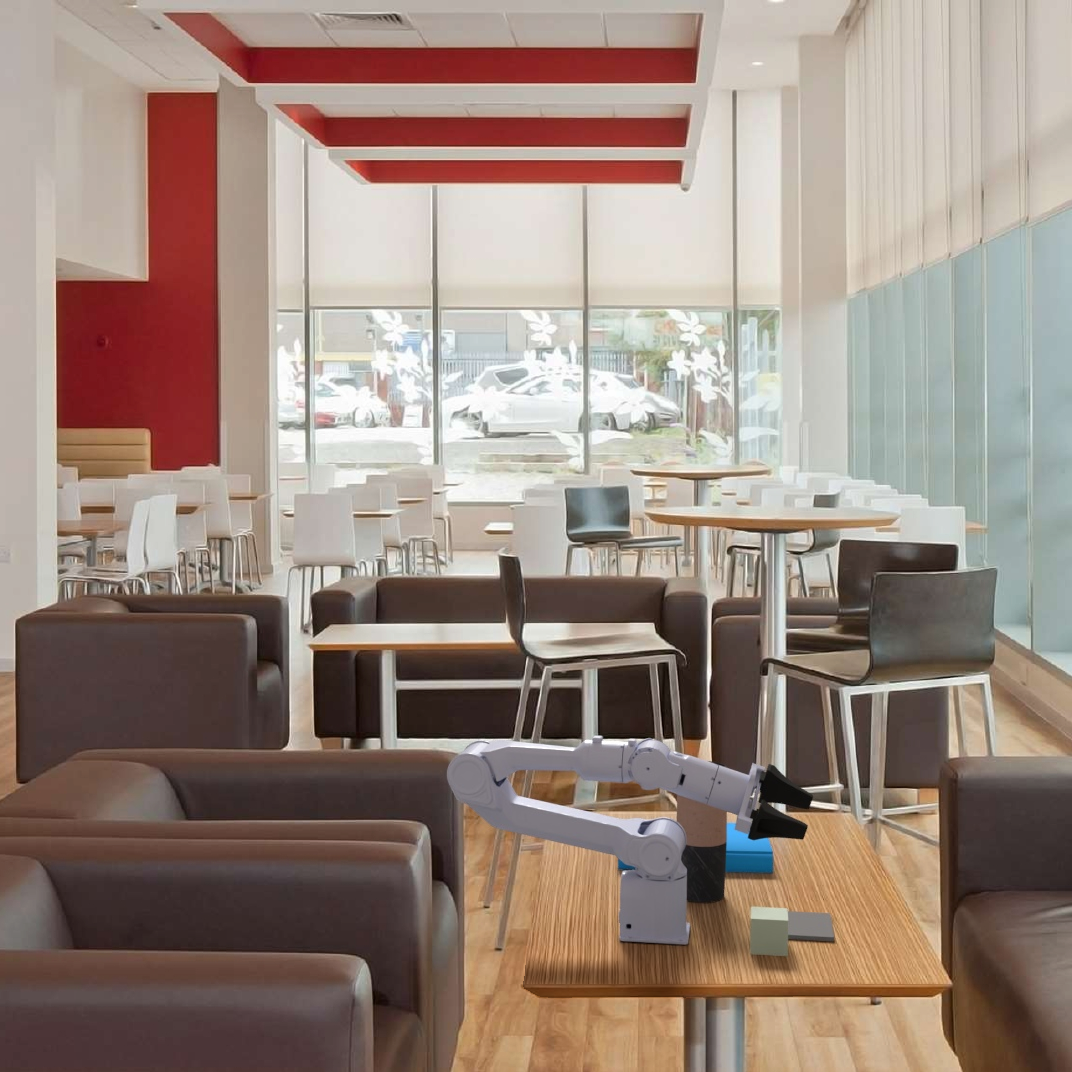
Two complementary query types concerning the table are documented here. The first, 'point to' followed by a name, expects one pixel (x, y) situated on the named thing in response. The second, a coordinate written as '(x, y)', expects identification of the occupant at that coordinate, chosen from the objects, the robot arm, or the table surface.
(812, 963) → the table surface
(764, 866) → the book
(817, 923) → the coaster
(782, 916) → the cube
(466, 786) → the robot arm
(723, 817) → the travel mug
